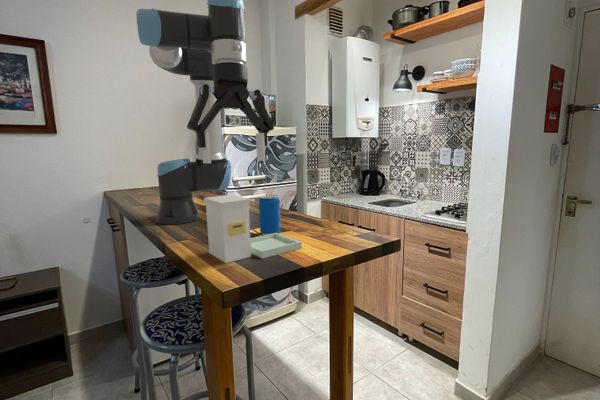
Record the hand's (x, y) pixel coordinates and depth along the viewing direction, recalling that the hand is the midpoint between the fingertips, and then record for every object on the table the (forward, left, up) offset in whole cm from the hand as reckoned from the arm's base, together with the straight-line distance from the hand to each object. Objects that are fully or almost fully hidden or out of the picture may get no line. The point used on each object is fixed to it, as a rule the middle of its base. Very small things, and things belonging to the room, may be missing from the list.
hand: (235, 162), depth 75 cm
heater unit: (-7, 0, -24) cm, 25 cm away
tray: (-5, +11, -24) cm, 27 cm away
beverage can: (-17, +19, -24) cm, 35 cm away
